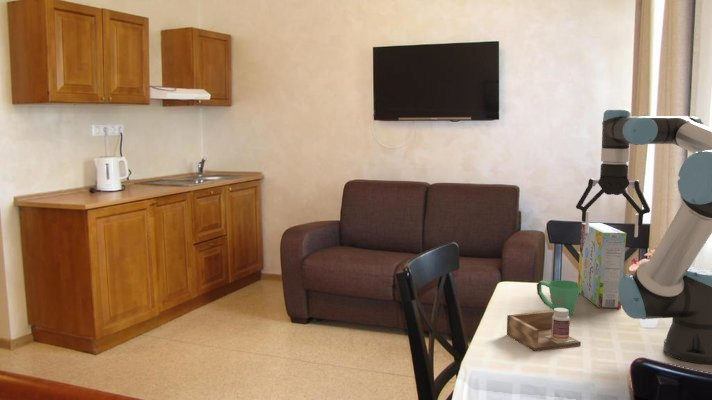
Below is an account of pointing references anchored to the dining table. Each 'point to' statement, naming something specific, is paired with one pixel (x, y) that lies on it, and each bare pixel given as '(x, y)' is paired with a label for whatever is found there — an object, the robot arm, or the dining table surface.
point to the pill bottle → (560, 324)
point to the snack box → (601, 264)
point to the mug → (560, 294)
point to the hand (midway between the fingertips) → (611, 234)
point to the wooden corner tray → (536, 331)
